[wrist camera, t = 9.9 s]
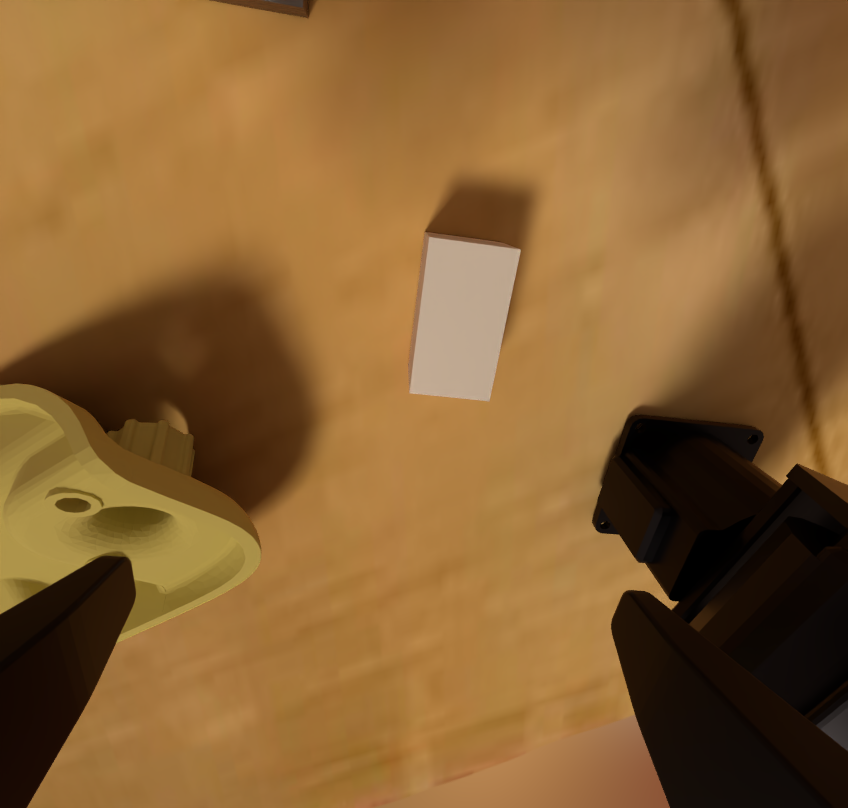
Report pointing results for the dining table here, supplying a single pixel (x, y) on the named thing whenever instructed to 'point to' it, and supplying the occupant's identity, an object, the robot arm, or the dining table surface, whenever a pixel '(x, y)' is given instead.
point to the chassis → (274, 5)
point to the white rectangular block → (460, 315)
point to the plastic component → (112, 508)
